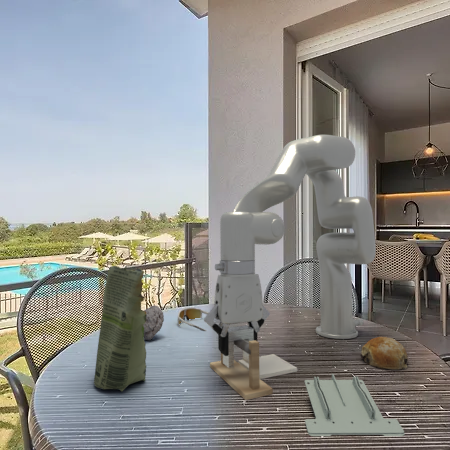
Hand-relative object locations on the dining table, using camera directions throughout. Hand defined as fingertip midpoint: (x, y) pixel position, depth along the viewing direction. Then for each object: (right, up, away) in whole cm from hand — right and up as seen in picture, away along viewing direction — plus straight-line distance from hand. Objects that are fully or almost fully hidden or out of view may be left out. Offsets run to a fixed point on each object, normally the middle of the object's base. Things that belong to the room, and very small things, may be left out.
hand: (238, 350), depth 74 cm
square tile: (+7, -6, +6) cm, 11 cm away
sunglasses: (-12, -8, +45) cm, 47 cm away
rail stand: (0, -6, 0) cm, 6 cm away
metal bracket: (+18, -6, -15) cm, 24 cm away
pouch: (-25, -6, -2) cm, 26 cm away
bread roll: (+36, -6, +9) cm, 37 cm away
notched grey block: (0, -3, 0) cm, 3 cm away
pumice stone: (-26, -7, +28) cm, 39 cm away
